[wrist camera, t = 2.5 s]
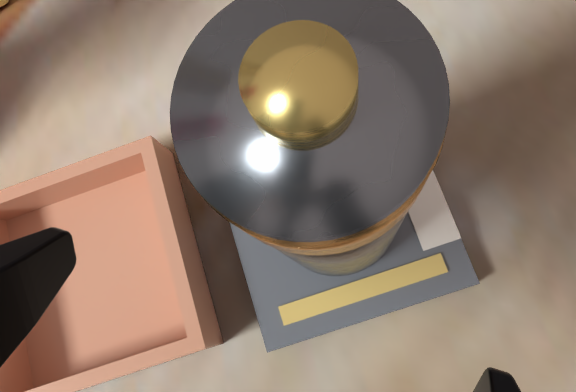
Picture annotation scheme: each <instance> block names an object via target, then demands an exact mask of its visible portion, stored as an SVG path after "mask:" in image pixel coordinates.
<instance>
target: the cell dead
mask: <svg viewBox="0 0 576 392" xmlns="http://www.w3.org/2000/svg"><path fill="white" fill-rule="evenodd" d="M449 106H450V96H449V83H448V78H447V73H446V68H445V65H444V62H443V60H442V57H441V54H440V51H439V49H438V47H437V46H436V44H435V42H434V40H433V38H432V36H431V35H430V33H429V32H428V31H427V29H426V28H425V27H424V25H423V24H422V23H421V21H420V20H419V19H418V18H417V17H416V16H415V15H414V14H413V13H412V12H411V11H410V10H409V9H408V8H406V7H405V6H404V5H402V4H401V3H400V2H399V1H397V0H235V1H233V2H232V3H230V4H229V5H228V6H226V7H225V8H224V9H222V10H221V11H220V12H219V13H218V14H217V15H216V16H214V17H213V18H212V19H211V20H210V21H209V22H208V23H207V24H206V25H205V27H204V28H203V29H202V30H201V31H200V33H199V34H198V35H197V36H196V38H195V39H194V41H193V42H192V44H191V45H190V47H189V48H188V50H187V52H186V54H185V56H184V58H183V60H182V62H181V64H180V66H179V69H178V72H177V75H176V78H175V81H174V86H173V91H172V95H171V106H170V124H171V133H172V138H173V143H174V147H175V150H176V153H177V156H178V159H179V162H180V164H181V166H182V168H183V170H184V172H185V174H186V176H187V177H188V179H189V180H190V182H191V183H192V184H193V186H194V187H195V189H196V190H197V191H198V192H199V193H200V195H201V196H202V197H203V198H204V199H205V201H206V202H207V203H208V204H209V205H210V206H211V207H212V208H213V209H214V210H215V211H216V212H217V213H219V214H220V215H221V216H222V217H224V218H225V219H226V220H227V221H229V222H230V223H232V224H233V225H235V226H236V227H238V228H240V229H241V230H243V231H244V232H246V233H248V234H249V235H251V236H252V237H254V238H256V239H258V240H259V241H261V242H263V243H264V244H267V245H269V246H271V247H273V248H275V249H276V250H278V251H280V252H281V253H283V254H284V255H286V256H287V257H289V258H290V259H292V260H293V261H295V262H296V263H298V264H300V265H301V266H303V267H304V268H306V269H308V270H310V271H312V272H315V273H318V274H321V275H326V276H347V275H352V274H355V273H358V272H361V271H363V270H365V269H367V268H368V267H370V266H372V265H373V264H374V263H375V262H377V261H378V260H379V259H380V258H381V257H382V256H383V255H384V253H385V252H386V251H387V249H388V248H389V246H390V244H391V242H392V241H393V239H394V237H395V235H396V233H397V231H398V229H399V227H400V225H401V223H402V222H403V220H404V218H405V216H406V214H407V212H408V211H409V209H410V208H411V207H412V205H413V204H414V203H415V201H416V199H417V197H418V196H419V194H420V192H421V190H422V188H423V187H424V185H425V183H426V181H427V179H428V177H429V176H430V174H431V172H432V170H433V168H434V167H435V165H436V162H437V160H438V157H439V154H440V152H441V149H442V146H443V142H444V138H445V133H446V127H447V123H448V117H449Z"/></svg>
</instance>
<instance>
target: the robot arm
mask: <svg viewBox="0 0 576 392" xmlns="http://www.w3.org/2000/svg"><path fill="white" fill-rule="evenodd" d="M75 265H76V253H75V248H74V243H73V238H72V235H71V234H70V232H68V231H66V230H62V229H59V228H56V227H50V228H47V229H44V230H41V231H38V232H35V233H33V234H30V235H27V236H24V237H21V238H18V239H15V240H13V241H10V242H7V243H4V244H1V245H0V368H1V366H2V365H3V364H4V363H5V362H6V360H7V359H8V358H9V357H10V355H11V354H12V353H13V352H14V351H15V349H16V348H17V347H18V346H19V345H20V343H21V342H22V341H23V340H24V339H25V337H26V336H27V335H28V334H29V333H30V331H31V330H32V329H33V328H34V326H35V325H36V324H37V322H38V321H39V319H40V318H41V317H42V315H43V314H44V312H45V311H46V309H47V308H48V306H49V305H50V303H51V302H52V301H53V299H54V298H55V296H56V295H57V293H58V292H59V290H60V289H61V287H62V286H63V284H64V283H65V281H66V280H67V278H68V277H69V275H70V274H71V273H72V271H73V269H74V267H75ZM473 392H521V391H520V389H519V387H518V385H517V383H516V382H515V380H514V378H513V377H512V375H510V374H509V373H507V372H504V371H501V370H498V369H495V368H491V367H489V368H487V369H486V370H485V371H484V373H483V375H482V376H481V378H480V380H479V382H478V384H477V385H476V387H475V389H474V391H473Z"/></svg>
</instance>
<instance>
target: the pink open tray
mask: <svg viewBox="0 0 576 392" xmlns="http://www.w3.org/2000/svg"><path fill="white" fill-rule="evenodd" d="M50 227H56V228H59V229H62V230H66V231H68V232H70V234H71V235H72V238H73V243H74V248H75V253H76V265H75V267H74V269H73V271H72V273H71V274H70V275H69V277H68V278H67V280H66V281H65V283H64V284H63V286H62V287H61V289H60V290H59V292H58V293H57V295H56V296H55V298H54V299H53V301H52V302H51V303H50V305H49V306H48V308H47V309H46V311H45V312H44V314H43V315H42V317H41V318H40V319H39V321H38V322H37V324H36V325H35V326H34V328H33V329H32V330H31V331H30V333H29V334H28V335H27V336H26V337H25V339H24V340H23V341H22V342H21V343H20V345H19V346H18V347H17V348H16V349H15V351H14V352H13V353H12V354H11V355H10V357H9V358H8V359H7V360H6V362H5V363H4V364H3V365H2V366H1V368H0V392H76V391H80V390H83V389H86V388H89V387H92V386H95V385H98V384H101V383H104V382H107V381H110V380H113V379H116V378H119V377H122V376H125V375H128V374H131V373H134V372H137V371H140V370H143V369H147V368H150V367H153V366H156V365H159V364H162V363H165V362H168V361H171V360H174V359H177V358H180V357H183V356H186V355H189V354H192V353H195V352H198V351H201V350H204V349H207V348H211V347H214V346H217V345H220V344H223V340H222V336H221V332H220V328H219V325H218V321H217V317H216V313H215V310H214V306H213V302H212V298H211V295H210V291H209V287H208V284H207V280H206V276H205V272H204V269H203V265H202V261H201V257H200V254H199V250H198V246H197V242H196V239H195V235H194V231H193V228H192V224H191V220H190V216H189V213H188V209H187V205H186V201H185V198H184V194H183V190H182V187H181V183H180V179H179V175H178V172H177V168H176V164H175V160H174V157H173V153H172V152H171V151H169V150H168V149H167V148H166V147H164V146H163V145H162V144H161V143H159V142H158V141H157V140H156V139H154V138H153V137H152V136H148V137H145V138H143V139H140V140H137V141H134V142H132V143H129V144H126V145H123V146H121V147H118V148H115V149H112V150H110V151H107V152H104V153H101V154H99V155H96V156H93V157H90V158H88V159H85V160H82V161H79V162H77V163H74V164H71V165H68V166H66V167H63V168H60V169H57V170H55V171H52V172H49V173H46V174H44V175H41V176H38V177H35V178H33V179H30V180H27V181H24V182H22V183H19V184H16V185H13V186H11V187H8V188H5V189H2V190H0V245H1V244H4V243H7V242H10V241H13V240H15V239H18V238H21V237H24V236H27V235H30V234H33V233H35V232H38V231H41V230H44V229H47V228H50Z"/></svg>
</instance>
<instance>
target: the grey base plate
mask: <svg viewBox="0 0 576 392" xmlns="http://www.w3.org/2000/svg"><path fill="white" fill-rule="evenodd" d="M230 226H231V229H232V233H233V236H234V240H235V243H236V247H237V250H238V253H239V257H240V260H241V264H242V267H243V271H244V274H245V278H246V281H247V284H248V288H249V291H250V295H251V298H252V302H253V305H254V309H255V312H256V316H257V319H258V322H259V326H260V329H261V333H262V336H263V340H264V343H265V347H266V350H267V352H270V351H273V350H276V349H279V348H283V347H286V346H289V345H292V344H295V343H298V342H301V341H304V340H307V339H310V338H313V337H316V336H319V335H323V334H326V333H329V332H332V331H335V330H338V329H341V328H344V327H347V326H350V325H353V324H356V323H360V322H363V321H366V320H369V319H372V318H375V317H378V316H381V315H384V314H387V313H390V312H393V311H396V310H400V309H403V308H406V307H409V306H412V305H415V304H418V303H421V302H424V301H427V300H430V299H433V298H437V297H440V296H443V295H446V294H449V293H452V292H455V291H458V290H461V289H464V288H467V287H470V286H473V285H477V284H480V283H479V280H478V278H477V276H476V273H475V271H474V268H473V266H472V264H471V261H470V259H469V256H468V254H467V252H466V249H465V247H464V244H463V242H462V240H461V236H460V233H459V231H458V228H457V226H456V224H455V221H454V219H453V216H452V214H451V212H450V209H449V207H448V204H447V202H446V200H445V197H444V195H443V193H442V190H441V188H440V185H439V183H438V181H437V178H436V176H435V173H434V171H433V170H432V172H431V174H430V176H429V177H428V179H427V181H426V183H425V185H424V187H423V188H422V190H421V192H420V194H419V196H418V197H417V199H416V201H415V203H414V204H413V205H412V207H411V208H410V209H409V211H408V212H407V214H406V216H405V218H404V220H403V222H402V223H401V225H400V227H399V229H398V231H397V233H396V235H395V237H394V239H393V241H392V242H391V244H390V246H389V248H388V249H387V251H386V252H385V253H384V255H383V256H382V257H381V258H380V259H379V260H378V261H377V262H375V263H374V264H373V265H372V266H370V267H368V268H367V269H365V270H363V271H361V272H358V273H355V274H352V275H347V276H326V275H321V274H318V273H315V272H312V271H310V270H308V269H306V268H304V267H303V266H301V265H300V264H298V263H296V262H295V261H293V260H292V259H290V258H289V257H287V256H286V255H284V254H283V253H281V252H280V251H278V250H276V249H275V248H273V247H271V246H269V245H267V244H264V243H263V242H261V241H259V240H258V239H256V238H254V237H252V236H251V235H249V234H248V233H246V232H244V231H243V230H241V229H240V228H238V227H236V226H235V225H233V224H232V223H230Z"/></svg>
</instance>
